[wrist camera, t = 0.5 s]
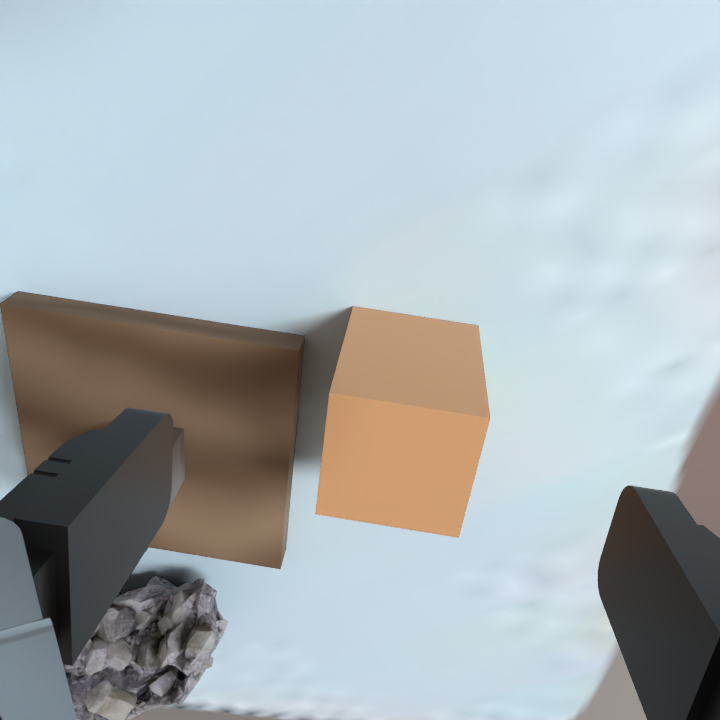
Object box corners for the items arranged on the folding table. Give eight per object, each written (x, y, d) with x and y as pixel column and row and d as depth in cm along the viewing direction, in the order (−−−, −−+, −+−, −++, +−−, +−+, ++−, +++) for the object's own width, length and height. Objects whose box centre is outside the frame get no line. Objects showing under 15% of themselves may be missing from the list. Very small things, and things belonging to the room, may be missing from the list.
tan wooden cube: (353, 306, 30) (329, 392, 24) (478, 325, 30) (490, 418, 23) (339, 410, 33) (315, 513, 26) (454, 429, 33) (458, 537, 26)
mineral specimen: (246, 599, 35) (93, 775, 30) (262, 655, 42) (141, 805, 37) (97, 478, 40) (-59, 611, 34) (133, 546, 47) (9, 665, 41)
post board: (18, 291, 32) (-92, 367, 25) (304, 335, 31) (269, 425, 25) (50, 510, 38) (-30, 615, 32) (285, 549, 38) (254, 663, 31)
